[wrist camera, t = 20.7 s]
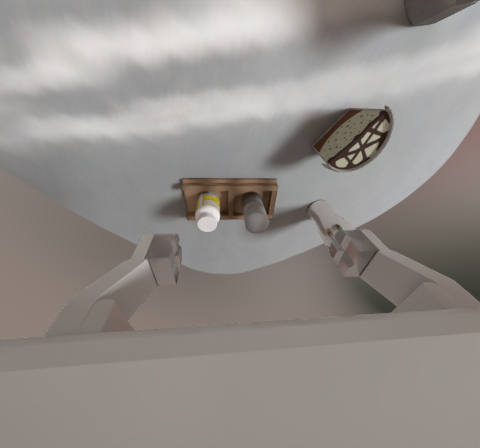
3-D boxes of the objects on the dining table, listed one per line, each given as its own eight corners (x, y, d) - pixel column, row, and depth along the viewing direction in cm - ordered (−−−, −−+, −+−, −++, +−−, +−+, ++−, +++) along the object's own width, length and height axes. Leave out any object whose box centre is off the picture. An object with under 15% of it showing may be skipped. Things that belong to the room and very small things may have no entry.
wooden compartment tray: (189, 217, 49) (182, 245, 41) (182, 178, 42) (173, 202, 34) (269, 215, 51) (279, 242, 43) (276, 178, 44) (289, 201, 36)
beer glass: (303, 219, 53) (326, 259, 41) (309, 198, 49) (337, 235, 37) (326, 219, 54) (356, 257, 42) (334, 198, 49) (370, 234, 38)
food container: (321, 168, 44) (343, 187, 36) (306, 151, 41) (326, 168, 33) (370, 123, 39) (408, 134, 31) (356, 101, 36) (394, 106, 28)
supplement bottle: (206, 212, 48) (203, 238, 40) (193, 197, 45) (187, 221, 37) (224, 203, 47) (224, 227, 39) (212, 186, 43) (210, 209, 36)
